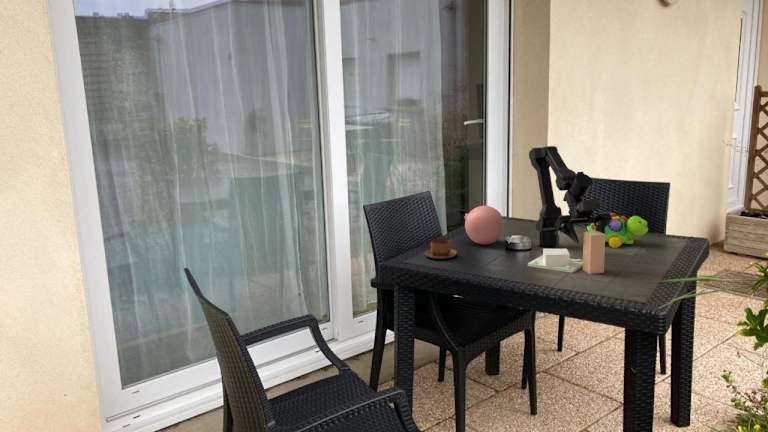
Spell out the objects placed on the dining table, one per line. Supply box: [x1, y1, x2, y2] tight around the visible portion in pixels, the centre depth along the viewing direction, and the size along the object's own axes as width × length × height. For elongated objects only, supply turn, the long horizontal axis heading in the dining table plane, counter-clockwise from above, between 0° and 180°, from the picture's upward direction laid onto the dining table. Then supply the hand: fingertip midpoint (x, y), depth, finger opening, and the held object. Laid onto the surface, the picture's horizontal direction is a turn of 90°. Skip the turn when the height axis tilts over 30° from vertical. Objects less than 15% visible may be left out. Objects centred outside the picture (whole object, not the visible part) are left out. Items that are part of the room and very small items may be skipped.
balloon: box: [463, 205, 505, 246], centre depth 253 cm, size 15×20×15 cm
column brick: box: [582, 231, 606, 275], centre depth 210 cm, size 5×5×13 cm
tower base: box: [527, 248, 583, 274], centre depth 220 cm, size 16×13×5 cm
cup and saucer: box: [424, 238, 458, 260], centre depth 236 cm, size 12×12×6 cm
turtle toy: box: [586, 212, 649, 249], centre depth 245 cm, size 17×23×12 cm
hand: (591, 242), depth 212 cm, fingers open, 9 cm apart
